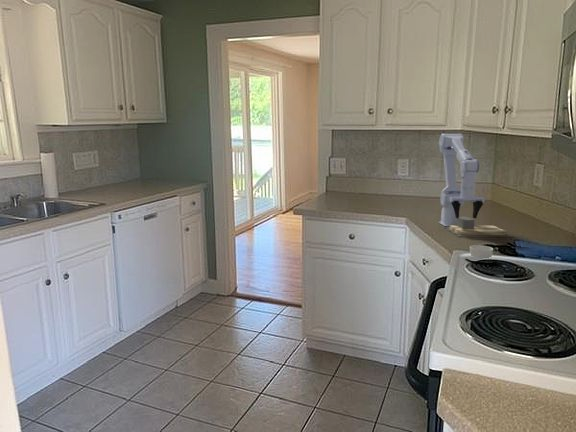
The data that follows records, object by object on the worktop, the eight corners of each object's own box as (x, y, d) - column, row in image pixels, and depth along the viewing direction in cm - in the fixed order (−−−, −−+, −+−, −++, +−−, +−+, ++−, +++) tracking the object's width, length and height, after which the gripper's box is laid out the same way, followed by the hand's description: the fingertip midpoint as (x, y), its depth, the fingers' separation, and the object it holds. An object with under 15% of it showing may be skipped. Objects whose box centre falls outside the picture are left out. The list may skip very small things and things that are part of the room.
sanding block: (456, 226, 197) (457, 216, 196) (466, 226, 197) (467, 216, 196) (463, 230, 189) (464, 219, 188) (473, 230, 189) (474, 220, 188)
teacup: (502, 264, 145) (503, 251, 144) (474, 265, 144) (475, 251, 143) (486, 256, 155) (487, 243, 154) (459, 257, 154) (460, 244, 153)
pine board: (444, 228, 202) (444, 224, 202) (494, 228, 202) (494, 224, 202) (458, 236, 185) (458, 232, 184) (513, 237, 184) (513, 232, 184)
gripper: (454, 188, 186) (452, 219, 188) (488, 188, 186) (486, 219, 188) (448, 186, 193) (446, 216, 195) (481, 186, 193) (479, 216, 195)
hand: (465, 218), depth 192 cm, fingers open, 7 cm apart
